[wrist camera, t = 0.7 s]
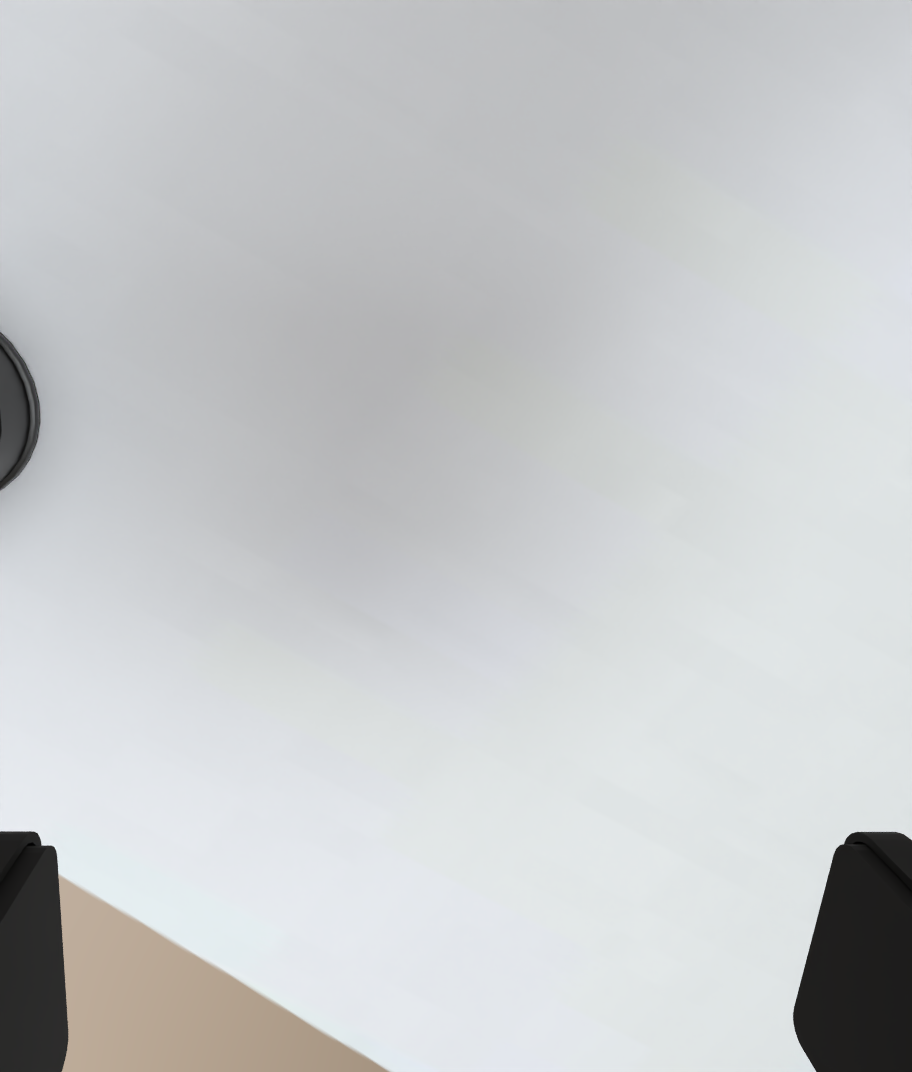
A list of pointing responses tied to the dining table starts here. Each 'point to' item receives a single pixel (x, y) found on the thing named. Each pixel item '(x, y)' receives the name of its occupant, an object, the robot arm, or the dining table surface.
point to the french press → (16, 413)
